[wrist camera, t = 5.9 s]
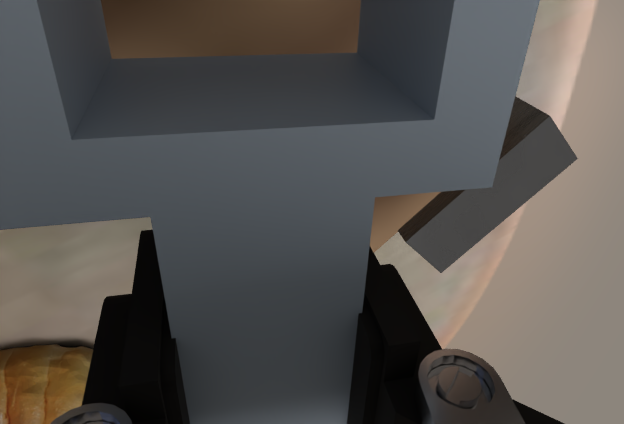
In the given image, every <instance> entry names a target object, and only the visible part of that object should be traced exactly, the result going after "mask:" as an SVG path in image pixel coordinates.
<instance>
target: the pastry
mask: <svg viewBox="0 0 624 424" xmlns="http://www.w3.org/2000/svg"><path fill="white" fill-rule="evenodd" d="M92 353H93V349H90V348H87V347H83V346H80V347H77V348H66V347H61V346H59V345H57V344H55V345H34V346H31V347H16V348H11V349H5V350H0V424H50V423H51V422H52V421H54V420H55V419H56V418H57V417H59V416H61V415H62V414H64V413H66V412H67V411H69V410H71V409H74V408H77V407H80V406H81V405H82V401H83V396H84V391H85V387H86V382H87V377H88V372H89V368H90V363H91V358H92Z"/></svg>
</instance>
